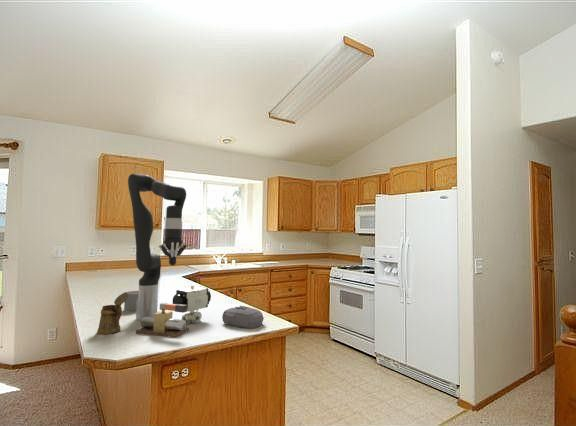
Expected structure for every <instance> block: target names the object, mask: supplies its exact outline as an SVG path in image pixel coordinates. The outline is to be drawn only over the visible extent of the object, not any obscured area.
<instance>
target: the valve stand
mask: <svg viewBox="0 0 576 426" xmlns="http://www.w3.org/2000/svg"><path fill="white" fill-rule="evenodd" d="M173 314H174V311H170V310H160V311H157V313H154V317H143V318H142V319H141V320H140V328H137V329H135V334H137V335H148V336H149V335H150V336H158V337H159V336H160V337H168V336H170V338H177V336H178V337H179V336H181V335H183V334H186V333H187V332H189V331H190V326H186V324H187V323H186V322H185V320H182V319H177V318H173ZM188 330H189V331H188ZM186 331H187V332H186Z"/></svg>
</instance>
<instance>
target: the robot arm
mask: <svg viewBox="0 0 576 426" xmlns="http://www.w3.org/2000/svg"><path fill="white" fill-rule="evenodd" d="M127 187H128V191H129V197H130V202H131V207H132V217H133V219H132V221H133V226H134V227H133V228H134V238H135V253H136V254H135V261H136V268H137V269H138V271H139V272H142V273H143V275H142V276H141V277H140V278H139V280H138V291H139V296H138V300H137V303H136V312H135V319H136V320H138V321H141V319H142V318H143V317H154V313H157V312H158V299H159V296H158V295H159V281H160V279H161V267H162V260H161V257H160V256H159V254H157V253H154V252H151V246H150V245H151V244H150V243H151V238H152V235H153V231H154V219H153V214H152V212H151V211H150V209H149V208H148V207H147V205H146V204H145V203H144V202H143V199H142V196H141V193H143V192H145V193H147V192H152V193H153V194H154V195H156V196H158V197H161V198H163V199H164V200H166V201H174V204H173V205H168V206H166V210H165V211H166V213H165V215H166V216H165V223H164V224H165V226H164V241H163V243H162V244H160V245H159V246H158V248H159V249H160V250H161V252H162V253H163V254H164V256H166V257H168V264H169V265H170V266H175V265H176V264H177V257H179V256H181V255H182V254H183V252H184V251H185V249H187V245H186V244H184V243H183V239H182V237H183V208H184V205H185V201H186V199H187V191H186V189H185V188H184V187H183V186H178V185H172V184H169V183H166V182H164V181H163V182H162V181H159V180H157V179H155V178H154V177H153V176H150V175H148V174H143V173H131V174H130V175H128V179H127ZM140 192H141V193H140Z"/></svg>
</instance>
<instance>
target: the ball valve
mask: <svg viewBox="0 0 576 426" xmlns="http://www.w3.org/2000/svg"><path fill="white" fill-rule="evenodd" d="M211 298H212V295H211V292H210V290H209V288H208V287H204V286H195V285H190V287H189V288H182V289H178V290H177V289H176V293H175V294H174V295H173V297H172V304H183V305H187V312H186V313H185V314H182V315H181V316H182V317H181V320H185V322H186V324H191V323H192V324H197V323H200V321H201V319H202V318H203V317H202V316H203V314H202V313H201V312H200V311H199V310H201V309H205V308H208V306H209V305H210V302H211Z"/></svg>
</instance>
